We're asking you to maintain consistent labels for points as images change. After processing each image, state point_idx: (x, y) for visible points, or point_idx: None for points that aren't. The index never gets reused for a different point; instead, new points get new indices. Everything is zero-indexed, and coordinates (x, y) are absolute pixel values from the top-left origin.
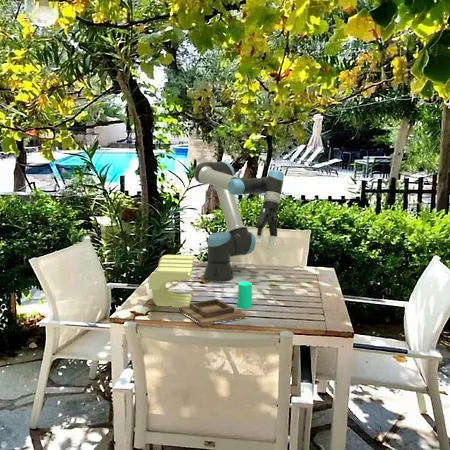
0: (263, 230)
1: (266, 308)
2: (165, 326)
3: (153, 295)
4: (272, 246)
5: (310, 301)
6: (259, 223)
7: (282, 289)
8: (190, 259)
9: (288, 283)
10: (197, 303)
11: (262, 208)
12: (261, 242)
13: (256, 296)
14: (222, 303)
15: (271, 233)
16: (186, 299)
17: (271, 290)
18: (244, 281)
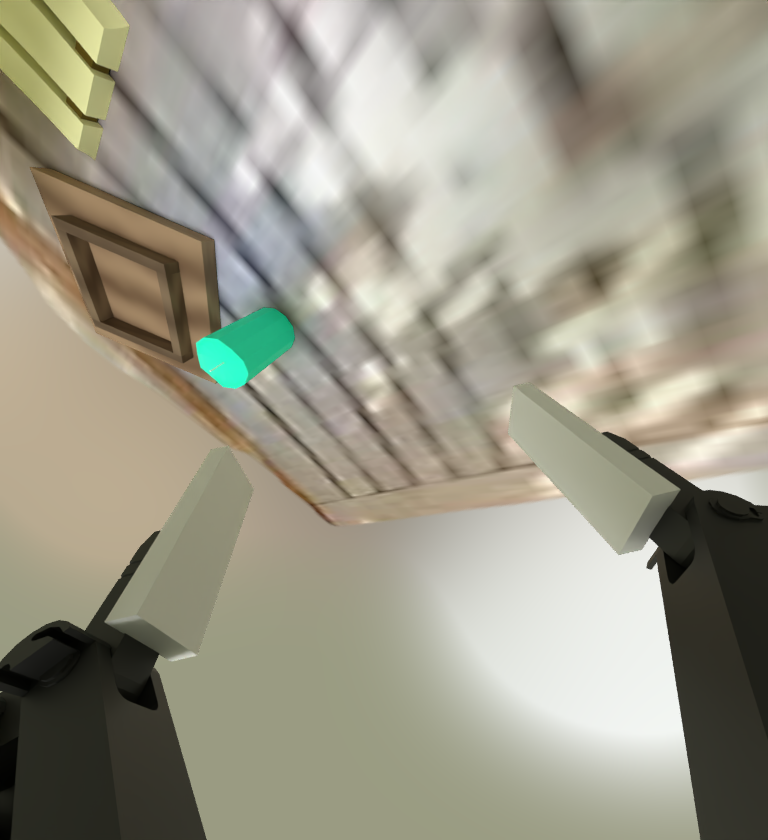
0: (197, 636)
1: (314, 388)
2: (10, 242)
3: None
4: (523, 450)
5: (447, 457)
6: (19, 809)
7: (535, 345)
8: None
9: (667, 324)
10: (81, 238)
11: None
12: (248, 495)
13: (382, 304)
14: (165, 312)
15: (748, 548)
16: (68, 91)
17: (495, 313)
18: (230, 350)
